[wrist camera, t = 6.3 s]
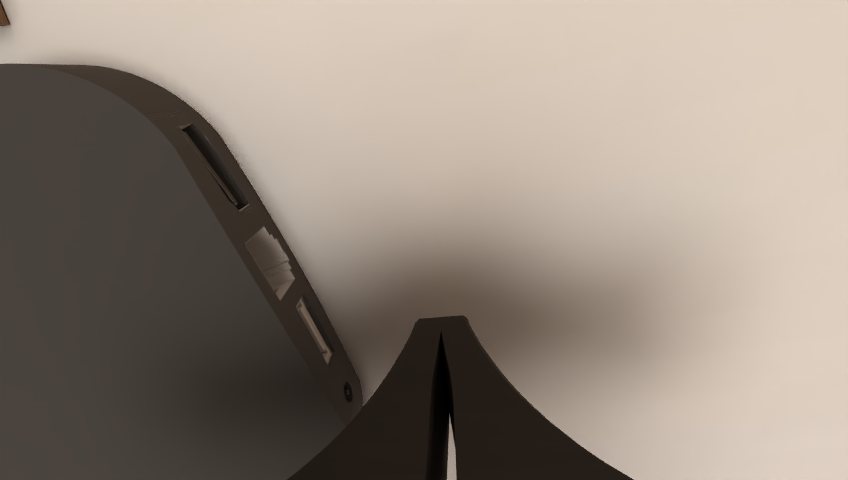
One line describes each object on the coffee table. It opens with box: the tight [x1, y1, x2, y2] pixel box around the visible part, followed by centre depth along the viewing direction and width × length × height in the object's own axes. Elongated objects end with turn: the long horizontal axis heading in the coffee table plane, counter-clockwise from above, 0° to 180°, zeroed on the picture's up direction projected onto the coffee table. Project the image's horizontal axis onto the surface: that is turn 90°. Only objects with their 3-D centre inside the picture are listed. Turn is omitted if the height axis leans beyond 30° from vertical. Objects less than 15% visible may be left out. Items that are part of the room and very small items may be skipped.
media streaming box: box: [0, 64, 362, 480], centre depth 12 cm, size 15×15×3 cm
